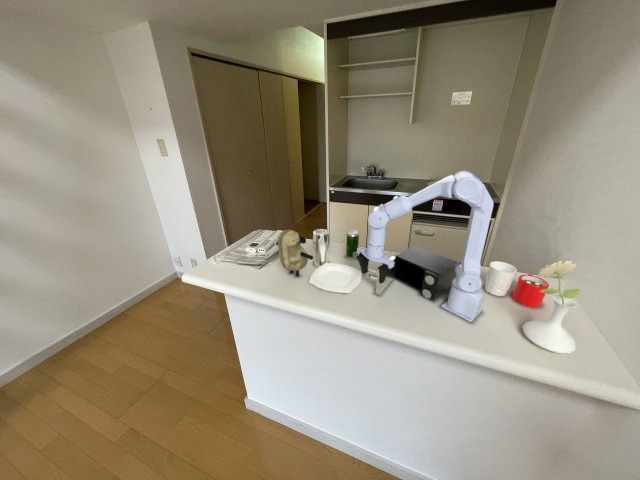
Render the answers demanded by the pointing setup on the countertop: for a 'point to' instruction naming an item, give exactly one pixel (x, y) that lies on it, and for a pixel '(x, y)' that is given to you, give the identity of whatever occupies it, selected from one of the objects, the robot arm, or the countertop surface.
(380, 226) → the robot arm
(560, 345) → the flower in vase
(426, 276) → the microwave
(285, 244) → the figurine
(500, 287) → the white cup
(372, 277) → the microwave door
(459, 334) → the countertop surface
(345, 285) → the plate
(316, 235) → the silver metal tumbler
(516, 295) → the mug
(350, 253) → the beer can
